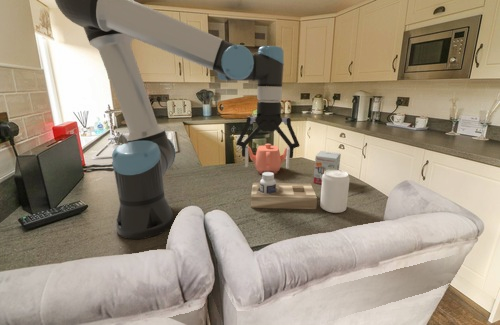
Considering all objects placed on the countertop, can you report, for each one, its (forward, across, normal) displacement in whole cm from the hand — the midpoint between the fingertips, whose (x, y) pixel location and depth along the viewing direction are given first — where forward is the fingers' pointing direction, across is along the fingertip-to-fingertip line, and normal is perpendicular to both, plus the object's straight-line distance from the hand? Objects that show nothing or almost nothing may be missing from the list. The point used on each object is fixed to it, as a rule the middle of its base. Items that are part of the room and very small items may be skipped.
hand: (266, 166), depth 85 cm
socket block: (+12, -6, 0) cm, 13 cm away
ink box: (+12, -25, -19) cm, 33 cm away
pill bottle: (+12, -1, 0) cm, 12 cm away
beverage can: (+12, -22, +5) cm, 25 cm away
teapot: (+12, -1, -32) cm, 34 cm away
